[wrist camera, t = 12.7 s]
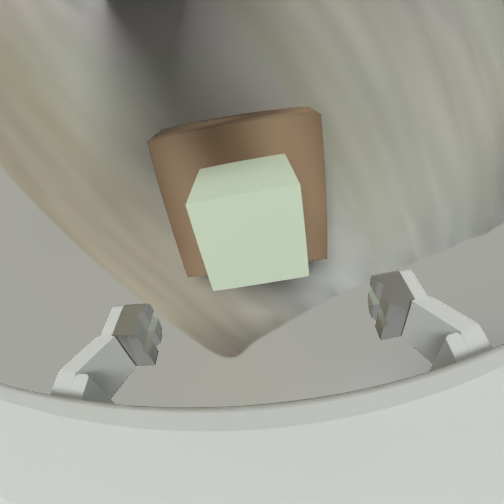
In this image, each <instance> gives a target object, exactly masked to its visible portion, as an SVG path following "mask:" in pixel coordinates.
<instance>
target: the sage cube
mask: <svg viewBox="0 0 504 504" xmlns="http://www.w3.org/2000/svg"><path fill="white" fill-rule="evenodd" d="M186 208H187V212H188V215H189V218H190V221H191V225H192V228H193V231H194V234H195V237H196V240H197V244H198V247H199V250H200V253H201V256H202V259H203V262H204V265H205V268H206V271H207V274H208V277H209V280H210V283H211V286H212V289H213V291H218V290H225V289H231V288H238V287H244V286H251V285H257V284H264V283H270V282H276V281H282V280H288V279H294V278H300V277H306V276H309V268H308V256H307V244H306V234H305V224H304V214H303V204H302V195H301V187H300V183H299V181H298V179H297V177H296V175H295V173H294V171H293V169H292V167H291V165H290V163H289V161H288V159H287V157H286V155H285V154H279V155H272V156H266V157H260V158H254V159H249V160H243V161H238V162H232V163H227V164H222V165H217V166H212V167H207V168H203V169H200V170H199V172H198V175H197V177H196V179H195V182H194V184H193V187H192V190H191V192H190V195H189V197H188V200H187V202H186Z"/></svg>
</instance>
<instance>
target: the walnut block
mask: <svg viewBox="0 0 504 504" xmlns="http://www.w3.org/2000/svg"><path fill="white" fill-rule="evenodd" d="M147 142H148V146H149V150H150V154H151V158H152V162H153V165H154V169H155V173H156V176H157V180H158V183H159V187H160V190H161V194H162V197H163V201H164V204H165V208H166V211H167V214H168V218H169V221H170V224H171V227H172V231H173V234H174V237H175V240H176V243H177V246H178V249H179V252H180V255H181V259H182V262H183V265H184V268H185V270H186V273H187V276H188V277H194V276H202V275H208V274H207V271H206V268H205V265H204V262H203V259H202V256H201V253H200V250H199V247H198V244H197V240H196V237H195V234H194V231H193V228H192V225H191V221H190V218H189V215H188V212H187V208H186V202H187V200H188V197H189V195H190V192H191V190H192V187H193V184H194V182H195V179H196V177H197V175H198V172H199V170H200V169H203V168H207V167H212V166H217V165H222V164H227V163H232V162H238V161H243V160H249V159H254V158H260V157H266V156H272V155H279V154H285V155H286V157H287V159H288V161H289V163H290V165H291V167H292V169H293V171H294V173H295V175H296V177H297V179H298V181H299V183H300V187H301V195H302V204H303V214H304V224H305V234H306V244H307V256H308V261H313V260H320V259H327V214H326V186H325V166H324V150H323V136H322V124H321V114H320V113H319V112H317V111H315V110H313V109H311V108H309V107H297V108H287V109H277V110H269V111H261V112H253V113H246V114H240V115H234V116H227V117H222V118H216V119H211V120H205V121H200V122H195V123H191V124H186V125H181V126H177V127H172V128H168V129H164V130H161V131H160V132H159V133H158V134H156V135H155V136H154V137H152V138H151V139H150V140H149V141H147Z"/></svg>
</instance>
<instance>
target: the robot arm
mask: <svg viewBox="0 0 504 504" xmlns="http://www.w3.org/2000/svg"><path fill="white" fill-rule="evenodd" d="M370 285H371V287H372V290H371V291H370V292H369V294H368V306H369V311H370V314H371V317H372V318H374V319H375V320H376V325H375V327H376V330H377V332H378V334H379V338H380V340H383V339H388V338H393V337H398V336H401V337H402V338H403V339H404V340H405V341H407V342H408V343H409V344H410V345H411V346H413V347H414V348H415V349H416V350H417V351H419V352H420V353H421V354H422V355H423V356H424V357H425V358H427V359H428V360H429V361H430V362H431V363H432V364H433V365H432V367H431V369H430V371H429V372H427V373H423V374H420V375H416V376H413V377H410V378H406V379H402V380H399V381H395V382H391V383H387V384H383V385H378V386H374V387H370V388H365V389H361V390H356V391H351V392H346V393H340V394H336V395H329V396H324V397H317V398H310V399H303V400H296V401H288V402H279V403H270V404H259V405H246V406H229V407H190V408H189V407H185V408H184V407H181V408H180V407H149V406H133V405H120V404H115V403H114V402H113V401H112V400H111V398H112V397H113V396H114V394H115V393H116V392H117V391H118V389H119V388H120V387H121V386H122V384H123V383H124V382H125V381H126V379H127V378H128V377H129V375H130V374H131V373H132V372H133V371H134V369H135V368H136V366H146V365H156V360H157V356H158V352H159V351H158V350H157V348H156V346H157V345H158V344H159V343H160V342H161V338H162V328H161V324H160V322H159V320H158V318H156V317H155V316H153V312H154V310H153V308H152V307H151V305H150V304H133V305H118V306H114V307H113V308H112V310H111V312H110V315H109V317H108V319H107V322H106V324H105V326H104V329H103V331H102V334H101V336H97V337H96V338H95V339H94V340H93V341H92V342H91V343H89V344H88V345H87V346H86V347H85V348H84V349H83V350H82V351H81V352H79V353H78V354H77V355H76V356H75V357H74V358H73V359H72V360H71V361H69V362H68V363H67V364H66V365H65V366H64V367H63V368H62V369H61V370H60V371H59V374H58V376H57V378H56V381H55V383H54V386H53V389H52V391H51V394H50V395H48V394H43V393H38V392H34V391H29V390H24V389H21V388H16V387H12V386H9V385H5V384H2V383H0V504H504V344H502V345H500V346H498V347H495V348H492V346H491V344H490V343H489V341H488V339H487V337H486V335H485V334H484V332H483V330H482V329H481V327H480V325H479V324H478V323H476V322H474V321H473V320H471V319H469V318H468V317H466V316H464V315H463V314H461V313H459V312H458V311H456V310H454V309H452V308H451V307H449V306H447V305H446V304H444V303H442V302H440V301H439V300H437V299H435V298H433V297H432V296H431V297H428V296H427V294H426V293H425V291H424V290H423V288H422V286H421V285H420V283H419V281H418V280H417V278H416V277H415V275H414V273H413V272H412V270H411V269H409V268H407V269H402V270H397V271H392V272H387V273H381V274H375V275H372V276H371V279H370Z"/></svg>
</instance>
